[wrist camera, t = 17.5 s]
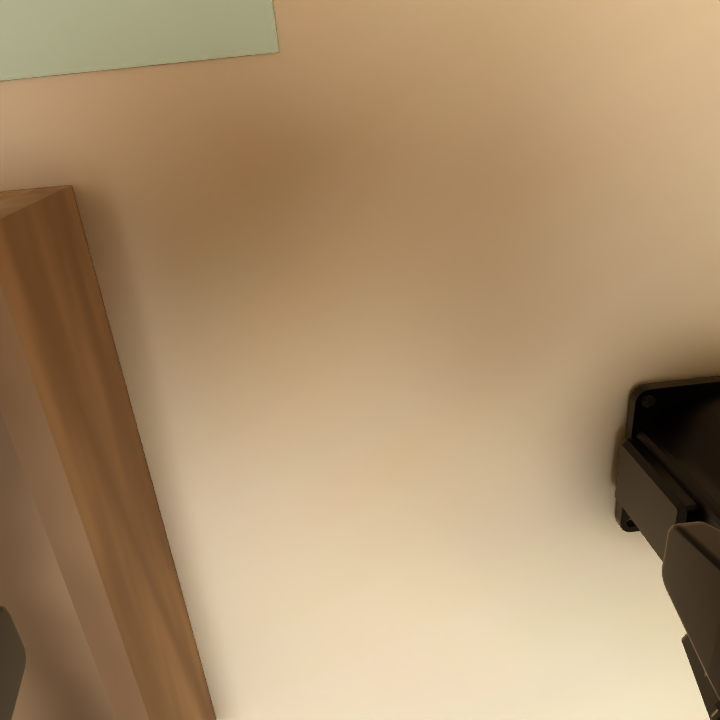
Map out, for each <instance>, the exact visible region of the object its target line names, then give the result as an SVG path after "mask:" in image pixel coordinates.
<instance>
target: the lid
mask: <svg viewBox="0 0 720 720" xmlns="http://www.w3.org/2000/svg"><path fill="white" fill-rule="evenodd" d="M276 52H279V47H278V39H277V32H276V24H275V17H274V10H273V2H272V0H0V81H4V80H13V79H23V78H33V77H43V76H52V75H62V74H72V73H82V72H91V71H101V70H111V69H121V68H130V67H140V66H150V65H160V64H169V63H179V62H189V61H198V60H208V59H218V58H228V57H237V56H247V55H257V54H267V53H276Z"/></svg>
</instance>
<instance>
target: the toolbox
mask: <svg viewBox="0 0 720 720" xmlns="http://www.w3.org/2000/svg"><path fill="white" fill-rule="evenodd" d="M0 606H4V607H6V608H7V609H8V610H9V612H10V613H11V615H12V618H13V620H14V622H15V625H16V627H17V629H18V632H19V634H20V636H21V638H22V641H23V643H24V645H25V648H26V654H27V661H26V668H25V672H24V676H23V680H22V683H21V687H20V691H19V695H18V699H17V702H16V706H15V710H14V714H13V718H12V720H216V717H215V713H214V710H213V706H212V702H211V699H210V695H209V691H208V688H207V684H206V680H205V676H204V673H203V669H202V665H201V662H200V658H199V654H198V651H197V647H196V643H195V640H194V636H193V632H192V629H191V625H190V621H189V617H188V614H187V610H186V606H185V603H184V599H183V595H182V592H181V588H180V584H179V581H178V577H177V573H176V570H175V566H174V562H173V559H172V555H171V551H170V547H169V544H168V540H167V536H166V533H165V529H164V525H163V522H162V518H161V514H160V511H159V507H158V503H157V500H156V496H155V492H154V489H153V485H152V481H151V477H150V474H149V470H148V466H147V463H146V459H145V455H144V452H143V448H142V444H141V441H140V437H139V433H138V430H137V426H136V422H135V418H134V415H133V411H132V407H131V404H130V400H129V396H128V393H127V389H126V385H125V382H124V378H123V374H122V371H121V367H120V363H119V360H118V356H117V352H116V348H115V345H114V341H113V337H112V334H111V330H110V326H109V323H108V319H107V315H106V312H105V308H104V304H103V301H102V297H101V293H100V289H99V286H98V282H97V278H96V275H95V271H94V267H93V264H92V260H91V256H90V253H89V249H88V245H87V242H86V238H85V234H84V231H83V227H82V223H81V219H80V216H79V212H78V208H77V205H76V201H75V197H74V194H73V190H72V186H71V185H67V186H56V187H46V188H35V189H25V190H14V191H3V192H0Z"/></svg>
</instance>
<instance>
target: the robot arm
mask: <svg viewBox="0 0 720 720" xmlns="http://www.w3.org/2000/svg"><path fill="white" fill-rule="evenodd" d="M648 395H650V397H649V399H648V400H647V401H645V402H642V401H643V399H644V398H645V397H646V396H648ZM615 497H616V499H617V500H618V503H617V511H616V521H617V523H618V524H619V525H620V527H621V528H622V529H623V530H624V531H626V532H635V531H641V533H642V534H643V536H644V537H645V538H646V540H647V541H648V542H649V544H650V545H651V546H652V548H653V549H654V550H655V552H656V553H657V555H658V556H659V557H660V559H661V560H662V561H663V565H662V577H663V582H664V585H665V587H666V590H667V592H668V594H669V596H670V598H671V600H672V602H673V605H674V607H675V609H676V611H677V613H678V615H679V617H680V619H681V622H682V624H683V626H684V628H685V630H686V632H687V634H686V635H685V636H684V637H683V638H682V643H683V646H684V648H685V651H686V654H687V657H688V659H689V662H690V665H691V668H692V670H693V673H694V676H695V679H696V681H697V684H698V687H699V690H700V692H701V695H702V698H703V701H704V704H705V706H706V709H707V712H708V715H709V717H710V720H720V376H713V377H704V378H695V379H686V380H677V381H668V382H659V383H650V384H644V385H640V386H638V387H637V388H635V389H634V391H633V392H632V393H631V396H630V402H629V410H628V419H627V427H626V436H625V440H624V441H623V443H622V444H621V447H620V456H619V464H618V473H617V481H616V490H615ZM629 518H631V520H628V519H629ZM627 520H628V521H627ZM26 661H27V654H26V648H25V645H24V643H23V641H22V638H21V636H20V634H19V632H18V629H17V627H16V625H15V622H14V620H13V618H12V615H11V613H10V612H9V610H8V609H7V608H6V607H4V606H0V720H12V718H13V714H14V710H15V706H16V702H17V699H18V695H19V691H20V687H21V683H22V680H23V676H24V672H25V668H26Z"/></svg>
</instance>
